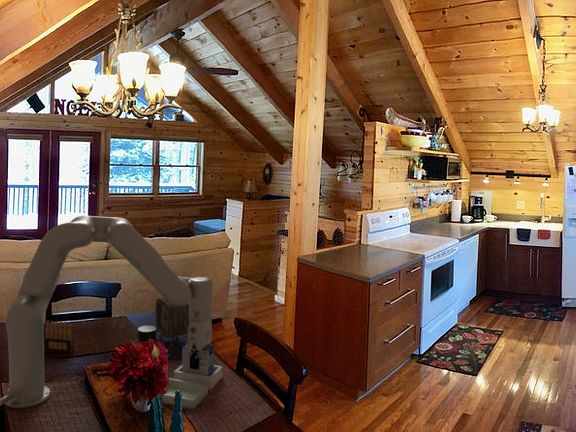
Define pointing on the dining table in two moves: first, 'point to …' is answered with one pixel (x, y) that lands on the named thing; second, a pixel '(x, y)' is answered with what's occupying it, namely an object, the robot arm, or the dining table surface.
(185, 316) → the ring-top lantern
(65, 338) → the ammunition clip
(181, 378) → the tray
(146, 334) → the ink bottle
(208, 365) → the ink cartridge box
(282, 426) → the dining table surface
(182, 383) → the parts tray
